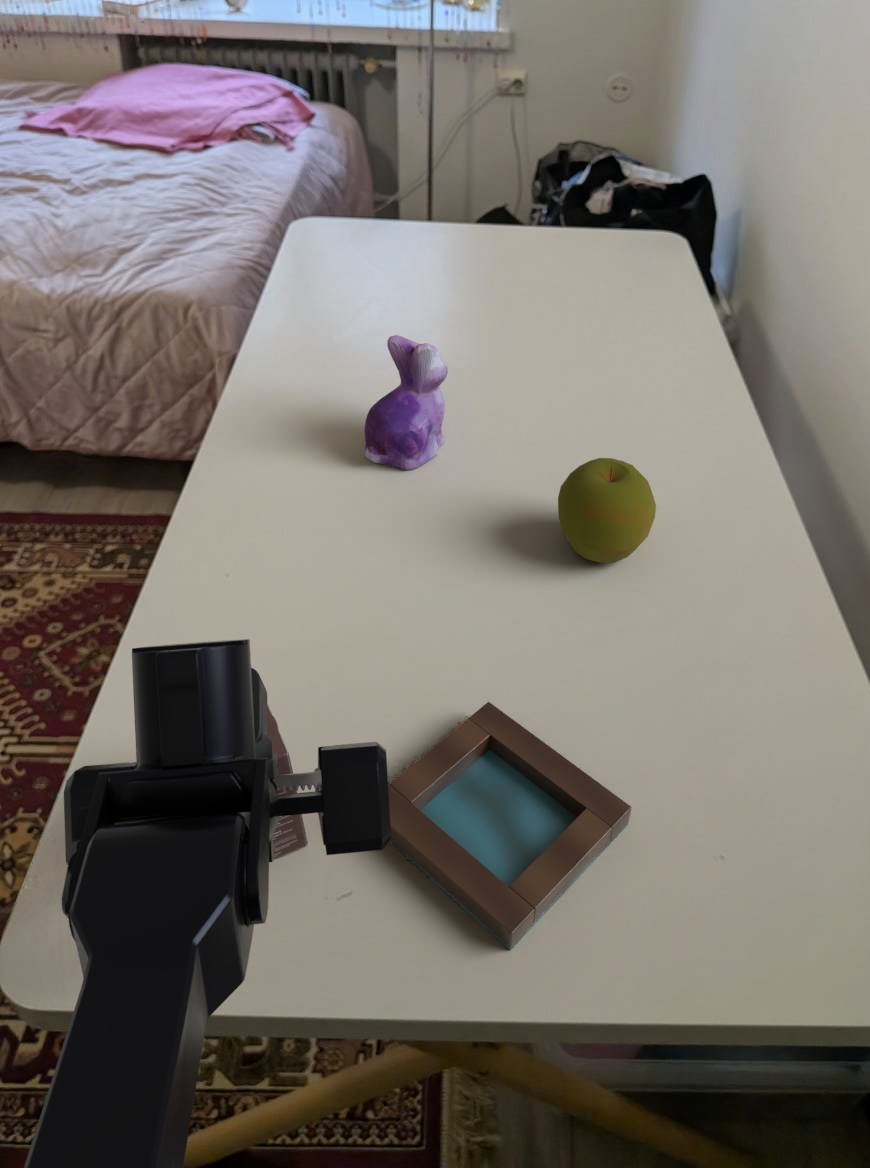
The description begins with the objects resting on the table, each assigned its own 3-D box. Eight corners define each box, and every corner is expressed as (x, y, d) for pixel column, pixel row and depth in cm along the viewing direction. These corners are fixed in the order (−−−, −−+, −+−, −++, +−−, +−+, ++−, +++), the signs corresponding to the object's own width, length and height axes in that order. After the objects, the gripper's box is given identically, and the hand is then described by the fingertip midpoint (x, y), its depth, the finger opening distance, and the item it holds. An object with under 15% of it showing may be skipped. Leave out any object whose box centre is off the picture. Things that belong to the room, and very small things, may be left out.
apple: (536, 533, 102) (543, 448, 95) (612, 508, 106) (624, 425, 99) (587, 591, 96) (599, 505, 89) (666, 562, 99) (683, 477, 92)
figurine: (448, 423, 118) (448, 313, 108) (445, 473, 110) (445, 358, 100) (371, 421, 118) (365, 310, 108) (363, 471, 110) (355, 356, 100)
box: (230, 809, 75) (206, 710, 68) (285, 788, 77) (268, 689, 69) (252, 872, 71) (229, 775, 64) (310, 849, 73) (294, 751, 65)
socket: (510, 951, 67) (511, 934, 66) (366, 821, 75) (365, 803, 73) (628, 824, 75) (632, 806, 74) (487, 719, 83) (488, 701, 81)
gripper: (381, 668, 52) (380, 655, 67) (21, 695, 50) (106, 675, 65) (393, 878, 51) (390, 816, 66) (28, 914, 49) (112, 842, 64)
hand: (251, 783), depth 66 cm, fingers open, 9 cm apart
